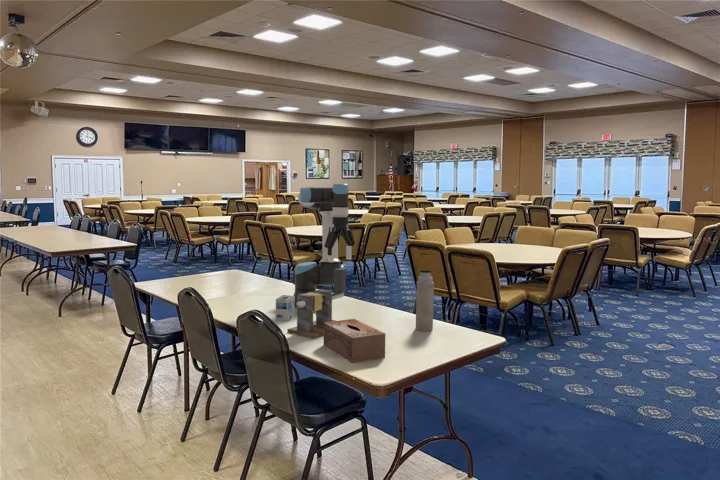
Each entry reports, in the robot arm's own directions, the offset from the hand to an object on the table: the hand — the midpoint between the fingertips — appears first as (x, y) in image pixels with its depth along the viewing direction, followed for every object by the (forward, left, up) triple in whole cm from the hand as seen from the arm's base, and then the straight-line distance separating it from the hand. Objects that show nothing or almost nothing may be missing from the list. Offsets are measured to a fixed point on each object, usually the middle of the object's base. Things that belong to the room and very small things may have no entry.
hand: (339, 260), depth 265 cm
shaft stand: (+14, 0, -31) cm, 34 cm away
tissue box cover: (+30, +32, -31) cm, 54 cm away
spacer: (+19, 0, -20) cm, 28 cm away
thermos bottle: (-18, +37, -31) cm, 51 cm away
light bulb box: (+9, -27, -31) cm, 42 cm away
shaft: (+13, 0, -18) cm, 22 cm away
